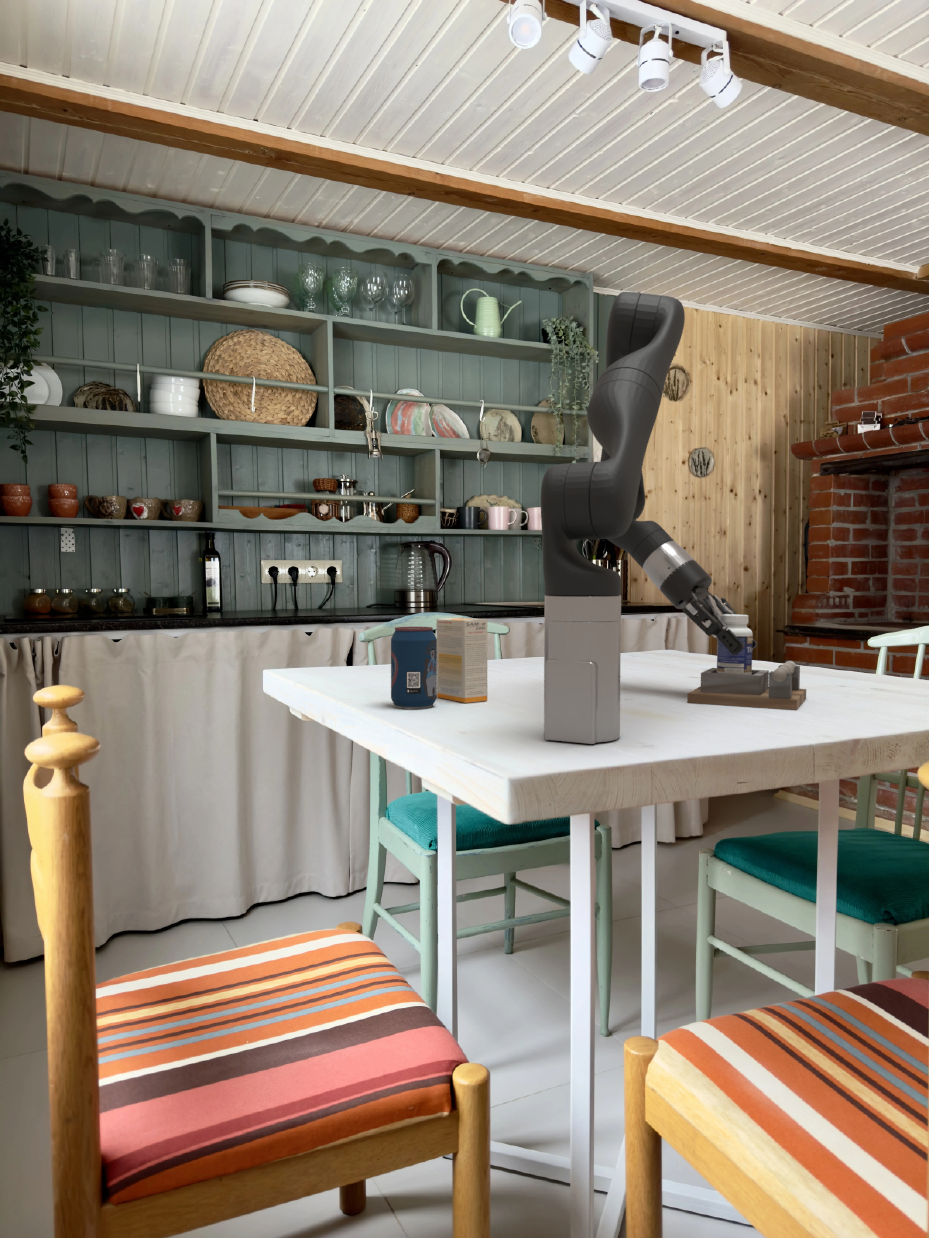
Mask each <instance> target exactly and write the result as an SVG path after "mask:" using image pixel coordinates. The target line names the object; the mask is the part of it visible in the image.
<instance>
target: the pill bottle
mask: <svg viewBox="0 0 929 1238" xmlns="http://www.w3.org/2000/svg"><path fill="white" fill-rule="evenodd" d="M723 621H724V622H725V624H726V625H727V627H728V629H730V630H731V631H732V632H733V633H734V635H735V636H736V637H737V638H738V639H739V640H740V641H741V642H742V643H743V644H744V648H743V649H742V650H741V651H740V652H739V653H738V654H736V655H733V654H732V653H731V652H730V651H729V650H728V649H727V648H726V647H725V646H724V645H723V644H722V643H721V641H720V640H719V639H718V638H717V639H716V640H717V643H716V645H717V646H716V668H717V673H726V674H746V675H751V673H752V670H753V669H752V668H753V650H752V641H753V640H752V639H754V636H753V631H752V629H750V628H749V627H748V625H749V615H748V614H738V613H737V614H724V615H723ZM728 629H727V630H728Z"/></svg>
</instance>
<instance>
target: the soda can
mask: <svg viewBox="0 0 929 1238" xmlns="http://www.w3.org/2000/svg"><path fill="white" fill-rule="evenodd" d="M433 630H434V628H433V627H431V626H395V627H394V632H393V634H392V636H391V639H390V699H391V701H392V703H393V704H394V707H395V708H397V709H401V708H407V709H406V710H424V709H423V708H425V709H430V708H432V707H433V706H434V705H435V703H436V701H437V698H438V697H437V636H436V635H435V632H434V631H433Z"/></svg>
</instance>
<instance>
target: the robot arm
mask: <svg viewBox="0 0 929 1238" xmlns="http://www.w3.org/2000/svg"><path fill="white" fill-rule="evenodd" d="M685 317H686V315H685V309H684V305H683V303H682V302H681V301H680V300H679V299H678V298H676V297H672V296H668V295H661V294H651V293H642V292H636V291H621V292H620V293H618V295H617V296H616V297H615V299H614V300H613V303H612V306H611V309H610V312H609V317H608V321H607V323H608V324H607V329H606V330H607V333H606V349H605V351H606V352H605V370H604V371H603V372H602V373H601V374H600V376H599V377H598V379H597V381H596V383H595V386H594V389H593V392H592V393H591V396H590V399H589V403H588V405H587V411H586V413H587V414H586V417H587V424H588V426H589V429H590V432H591V433H592V435H593V437H594V439H595V440H596V441H597V443H598V444H599V445H600V447H601V453H600V454H601V455H600V460H599V461H588V462H587V461H586V462H571V463H568V462H567V463H560V464H559V463H558V464H553V465H551V466H549V467H548V469H546V470H545V473H544V475H543V478H542V481H541V487H540V523H541V524H540V525H541V537H542V539H541V540H542V541H541V542H542V543H541V546H542V571H543V581H544V620H543V621H544V623H543V625H544V626H543V627H544V628H543V629H544V631H543V632H544V635H543V636H544V637H543V638H544V639H543V643H544V644H543V646H544V648H543V651H544V652H543V653H544V654H543V661H544V662H543V664H544V665H543V736H544V740H546V741H547V740H548V741H559V742H560V741H561V742H568V743H579V744H589V745H592V744H593V745H594V744H596V743H602V742H603V743H604V742H611V741H616V740H618V739H620V737H621V640H622V639H621V638H622V637H621V636H622V635H621V634H622V633H621V632H622V631H621V629H622V628H621V627H622V625H621V624H622V623H621V621H622V578H621V575H620V573H618V572H617V571H615V570H613V569H610V568H607V567H604V566H601V565H599V564H596V563H594V562H592V561H590V560H589V559H587V558H585V557H584V556H583V555H582V554H581V553H580V552H579V550H578V547H577V543H576V540H605V539H606V541H607V540H608V541H609V542H610V543H612V544H614V545H615V546H616V547H618V548H620V549H621V550H623V551H625V552H626V553H628V554H629V555H630V556H631V558H632V559H633V560H634V561H635V562H636V564H638V566H639V567H641V569H642V570H643V571H644V573H645V574H646V575H647V576H648V579H650V581H651V582H652V584H654V586H655V587H657V589H658V590H659V591H660V592H661V593H662V594H663V596H665V598H666V599H667V600H668V601H669V602H670V603H671V604H672V605H673V606H674V607H675V608H676V609H679V610H682V613H683V614H685V615H686V616H687V617H688V618H689V619H690V620H691V621H692V622H693V623H694V624H695V625H696V626H697V627H698V628H699V629H701V630H702V632H704V633H705V635H707V636H708V637H711V636H712V637H713V638H715V639H716V640H717V638H718V639H719V640H720V641H721V643H722V644H723V645H724V646H725V647H726V648H727V649H728V650H729V651H730V652H731V653H732V654H733V655H736V654H738V653H739V652H740V651H741V650H742V649H743V648H744V644H743V643H742V642H741V641H740V640H739V639H738V638H737V637H736V636H735V635H734V633H733V632H732V631H731V630H730V629H728V627H727V625H726V624H725V622H724V621H723V615H724V614H738V613H737V612H736V610H735V609H734V608H733V607H732V605H731V604H730V603H729V602H728V601H727V599H726V598H724V597H718V596H717V595H716V594H714V595H713V594H712V593H711V592H709V587H711V584H712V581H713V580H712V577H711V576H710V574H709V573H708V572H707V571H706V570H705V569H704V568H703V567H702V566H701V565H700V564H699V563H698V562H697V561H696V560H695V559H694V558H693V556H691V554H690V553H689V551H687V550H686V549H685V548H683V547H682V546H681V545H679V543H677V542H676V541H675V540H674V538H673V537H671V536H670V535H669V533H668V532H667V531H666V530H665V529H664V528H663V527H662V525H660V524H659V523H658V522H656V521H654V520H638V519H639V518H640V517H641V515H642V513H643V511H644V508H645V505H646V493H645V484H644V476H643V465H644V460H645V456H646V452H647V448H648V444H649V442H650V438H651V435H652V433H653V429H654V426H655V424H656V420H657V417H658V413H659V410H660V405H661V402H662V398H663V393H664V389H665V384H666V380H667V376H668V373H669V370H670V369H671V365H672V362H673V359H674V358H675V355H676V352H677V350H678V347H679V345H680V342H681V339H682V336H683V333H684V327H685ZM727 629H728V630H727ZM752 640H753V641H752V651H753V649H755V648H756V647H757V646H758V642H757V641H756V639H754V638H753V639H752Z"/></svg>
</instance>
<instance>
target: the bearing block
mask: <svg viewBox="0 0 929 1238" xmlns="http://www.w3.org/2000/svg"><path fill="white" fill-rule="evenodd" d="M800 679H801V665H797V664H796V663H795V662H794V661H793V660H787V661H786V662H783V664H780V665H778V667H777V668H776V669H774V670H771V671H769V670H768V669H767V670H765V669H752V673H751V675H746V674H726V673H717V667H711V668H709V669H706V670H703V672H700V686H699V687H697V688H695V689H693V690H691V691H689V692H687V694H686V695H687V696H686V697H687V700H686V703H687V704H699V705H701V704H702V705H703V704H704V705H715V706H730V707H732V706H733V707H743V708H744V707H747V708H758V709H759V708H761V709H776V710H789V711H798V709H799V708H800V707H801V706H802V704H803V703H804V702H805V701H806V699H807V689H806V688H800V685H801V684H800Z"/></svg>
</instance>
